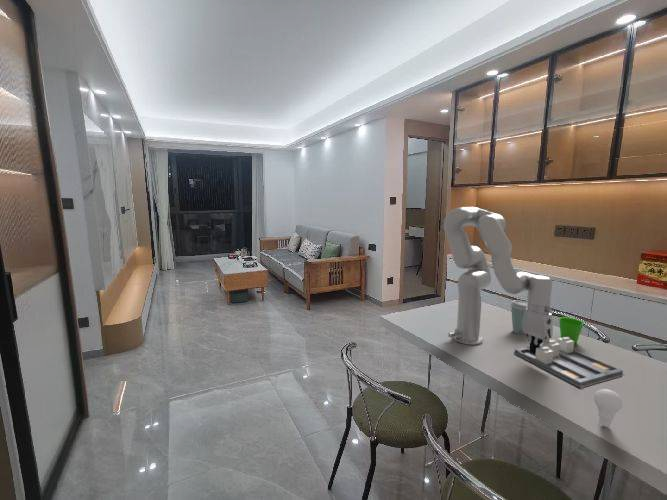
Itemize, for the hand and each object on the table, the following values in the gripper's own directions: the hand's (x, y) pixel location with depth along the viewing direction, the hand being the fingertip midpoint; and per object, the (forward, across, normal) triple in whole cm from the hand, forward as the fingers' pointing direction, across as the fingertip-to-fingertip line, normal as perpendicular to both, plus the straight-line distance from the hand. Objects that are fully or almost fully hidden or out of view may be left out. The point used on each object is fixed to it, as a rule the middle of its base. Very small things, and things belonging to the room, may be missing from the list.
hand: (534, 352), depth 132 cm
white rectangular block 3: (+2, -1, -16) cm, 16 cm away
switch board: (+4, -7, -8) cm, 11 cm away
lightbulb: (+4, -35, +15) cm, 38 cm away
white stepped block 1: (+2, -4, 0) cm, 5 cm away
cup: (+4, +5, -27) cm, 28 cm away
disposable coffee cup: (+4, +22, -19) cm, 29 cm away
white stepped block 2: (+2, -1, -8) cm, 8 cm away
